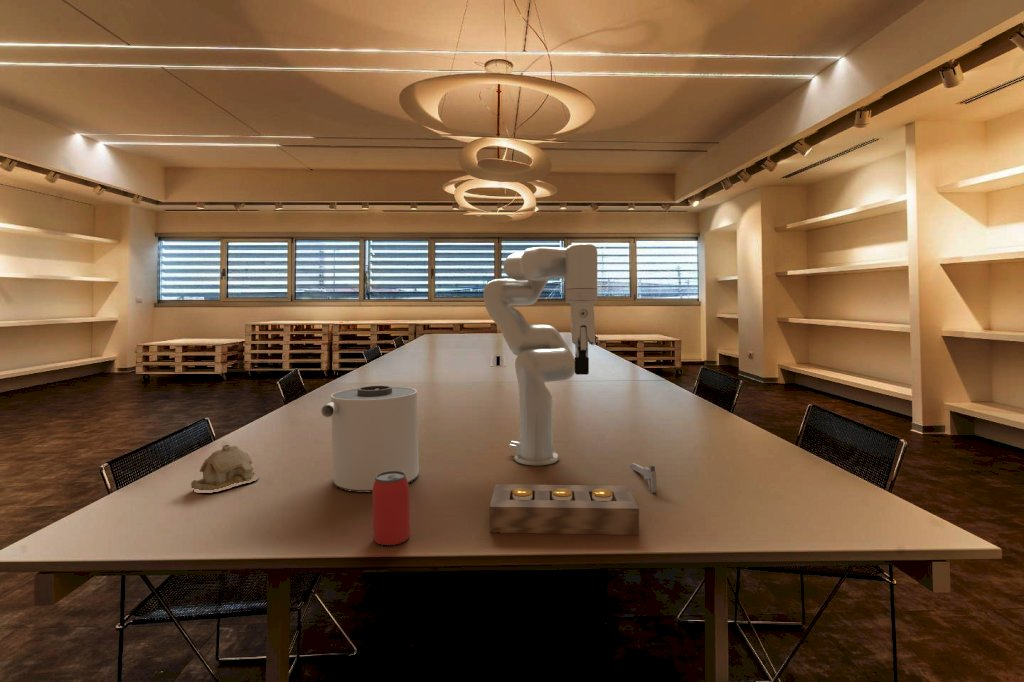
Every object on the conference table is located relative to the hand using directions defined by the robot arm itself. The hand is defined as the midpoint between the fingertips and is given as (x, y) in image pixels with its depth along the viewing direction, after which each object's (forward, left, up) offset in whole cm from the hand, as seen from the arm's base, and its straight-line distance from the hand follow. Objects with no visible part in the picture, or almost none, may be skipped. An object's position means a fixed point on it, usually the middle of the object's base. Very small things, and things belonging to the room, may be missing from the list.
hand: (581, 373), depth 113 cm
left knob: (-2, -24, -26) cm, 35 cm away
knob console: (+5, -20, -27) cm, 34 cm away
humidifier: (-47, -25, -27) cm, 60 cm away
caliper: (+11, +12, -28) cm, 32 cm away
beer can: (-18, -44, -27) cm, 55 cm away
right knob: (+12, -16, -26) cm, 33 cm away
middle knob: (+5, -20, -26) cm, 33 cm away
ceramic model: (-75, -46, -28) cm, 92 cm away
